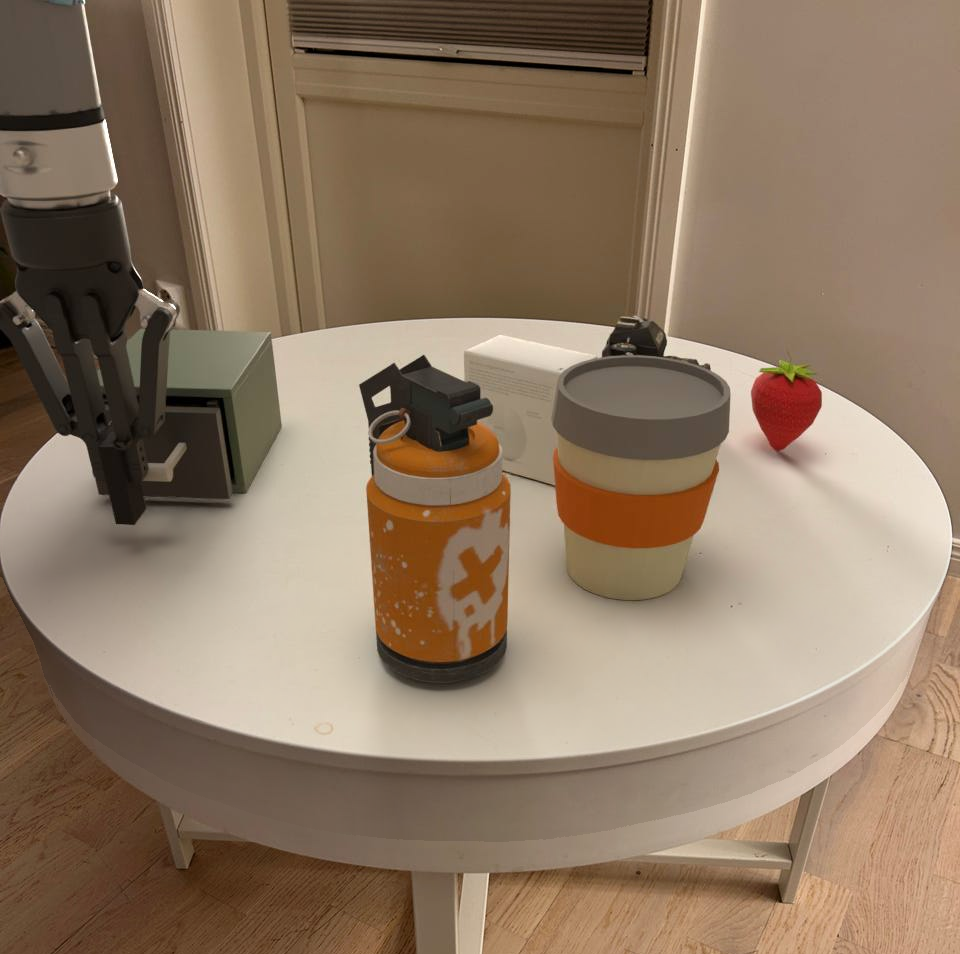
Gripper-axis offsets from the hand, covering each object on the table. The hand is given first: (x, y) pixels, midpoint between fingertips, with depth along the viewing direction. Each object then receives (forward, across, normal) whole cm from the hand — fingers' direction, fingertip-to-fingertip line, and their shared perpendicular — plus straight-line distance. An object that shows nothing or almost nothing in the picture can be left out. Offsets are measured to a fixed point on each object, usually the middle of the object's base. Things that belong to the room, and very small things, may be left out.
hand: (131, 516), depth 78 cm
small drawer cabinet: (+3, 0, +17) cm, 18 cm away
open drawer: (+2, 0, +11) cm, 11 cm away
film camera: (+3, +43, +29) cm, 52 cm away
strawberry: (+3, +55, +23) cm, 59 cm away
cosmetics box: (+3, +31, +19) cm, 36 cm away
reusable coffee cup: (+3, +39, 0) cm, 39 cm away
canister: (+3, +25, -11) cm, 28 cm away
